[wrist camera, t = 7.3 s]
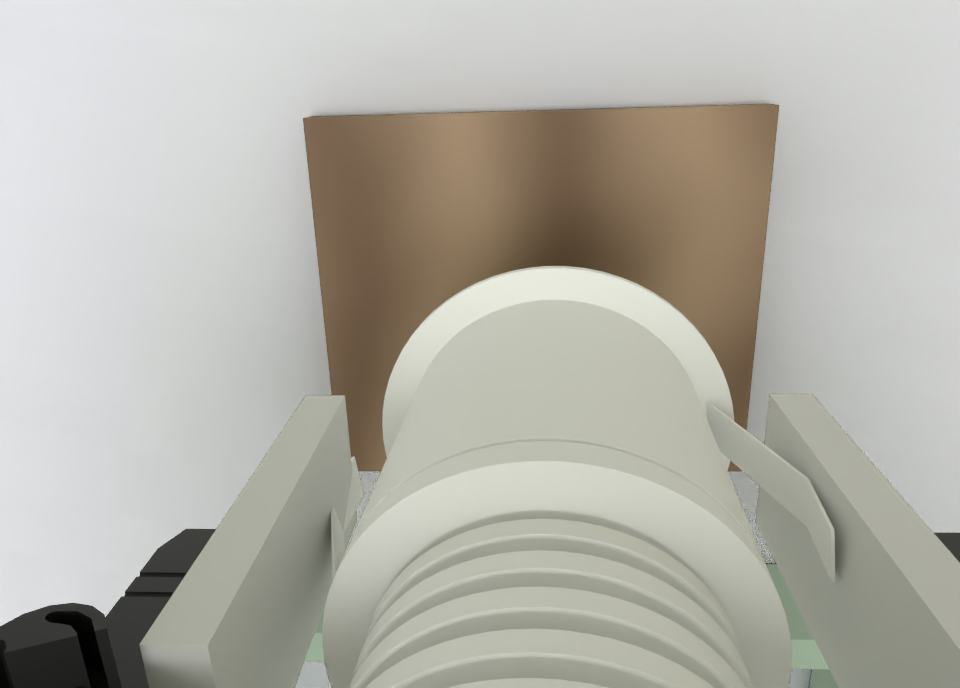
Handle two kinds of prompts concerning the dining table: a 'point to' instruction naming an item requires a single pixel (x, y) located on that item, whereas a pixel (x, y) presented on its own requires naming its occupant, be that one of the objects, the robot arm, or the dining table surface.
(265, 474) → the robot arm
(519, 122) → the pad
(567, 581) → the downlight
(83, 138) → the dining table surface
